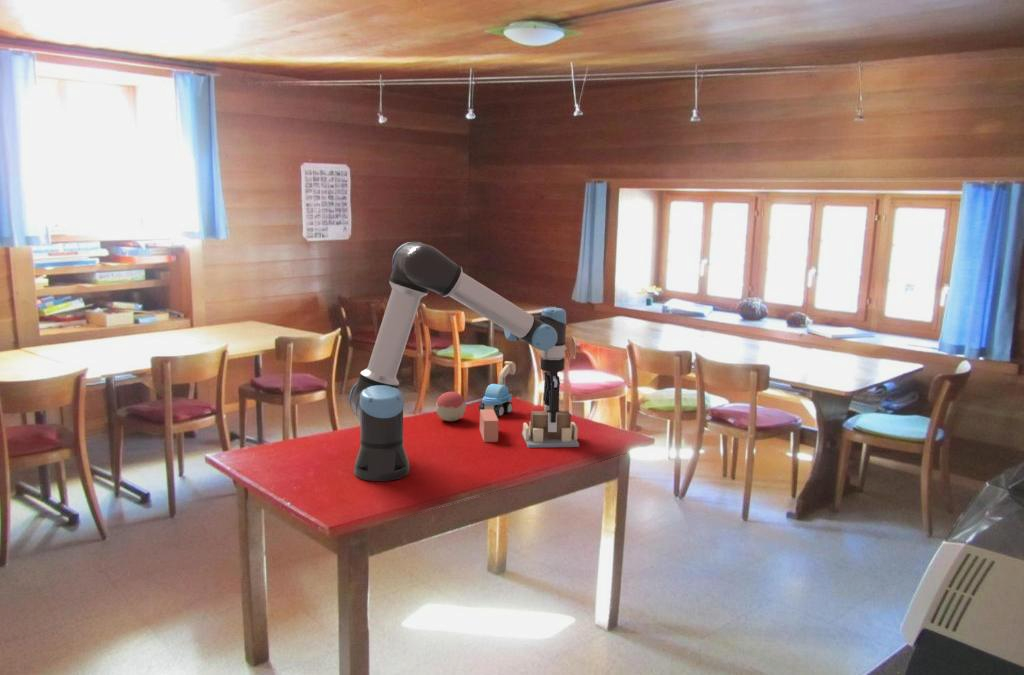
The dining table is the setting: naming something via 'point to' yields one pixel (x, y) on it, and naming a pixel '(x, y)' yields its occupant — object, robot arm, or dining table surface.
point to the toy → (450, 406)
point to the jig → (566, 439)
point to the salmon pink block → (489, 425)
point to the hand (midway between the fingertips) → (550, 428)
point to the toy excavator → (499, 393)
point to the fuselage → (541, 421)
